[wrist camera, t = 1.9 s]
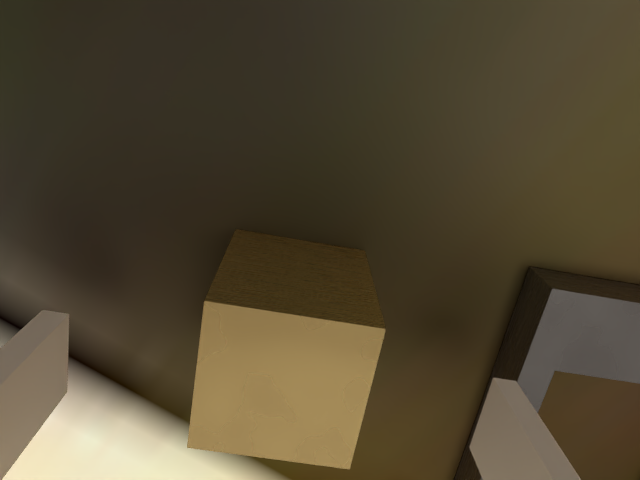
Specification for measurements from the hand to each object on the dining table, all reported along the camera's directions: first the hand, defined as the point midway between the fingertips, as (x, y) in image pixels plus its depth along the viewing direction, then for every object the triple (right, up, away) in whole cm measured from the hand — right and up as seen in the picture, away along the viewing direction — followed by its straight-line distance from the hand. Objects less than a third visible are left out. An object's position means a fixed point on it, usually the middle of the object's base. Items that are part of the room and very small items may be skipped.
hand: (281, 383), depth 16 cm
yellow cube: (0, +2, +5) cm, 5 cm away
